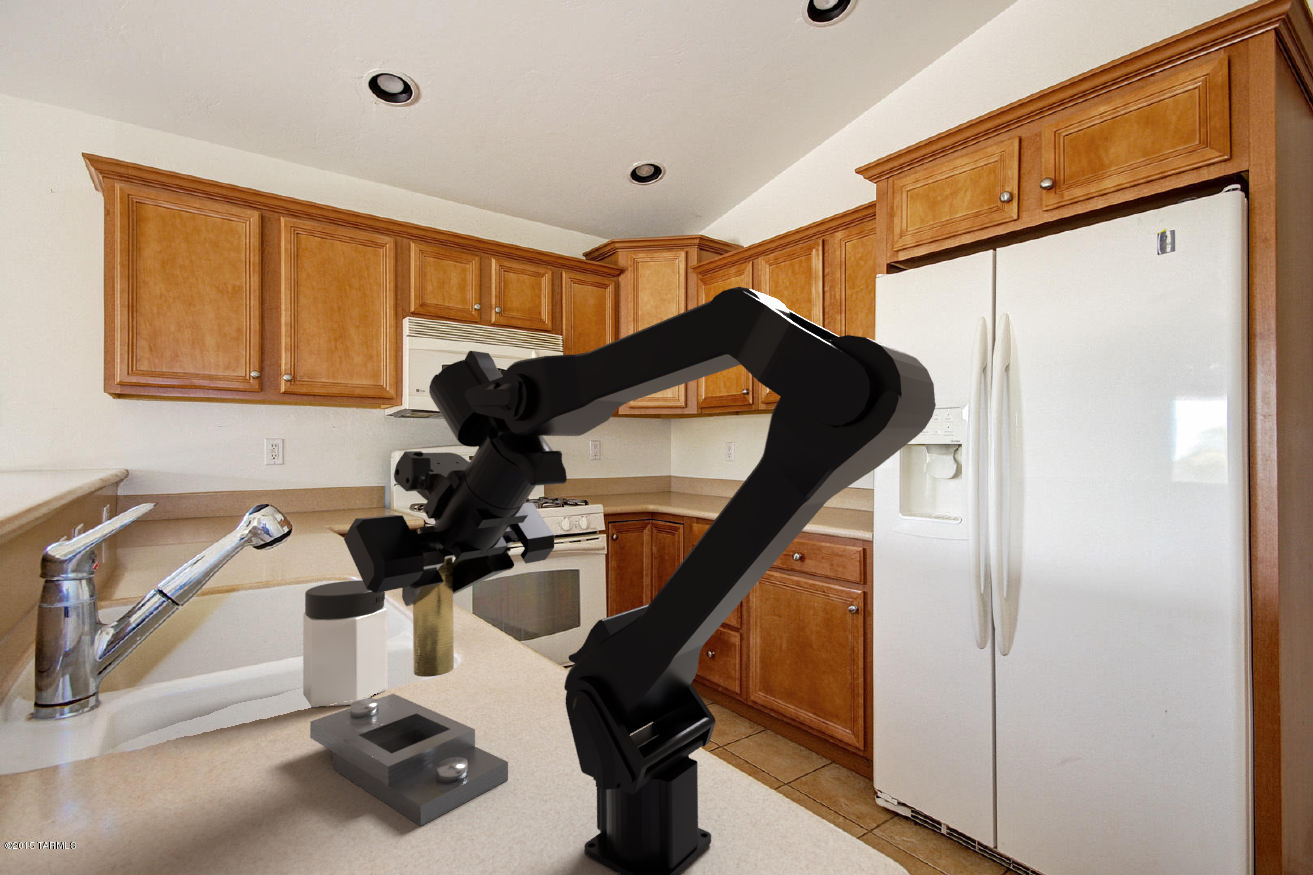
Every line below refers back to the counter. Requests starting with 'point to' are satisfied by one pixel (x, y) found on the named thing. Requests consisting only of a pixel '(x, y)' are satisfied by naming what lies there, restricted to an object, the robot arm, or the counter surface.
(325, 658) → the jar
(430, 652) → the pin
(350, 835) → the counter surface
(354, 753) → the grey clamp plate
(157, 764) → the counter surface
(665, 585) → the robot arm
